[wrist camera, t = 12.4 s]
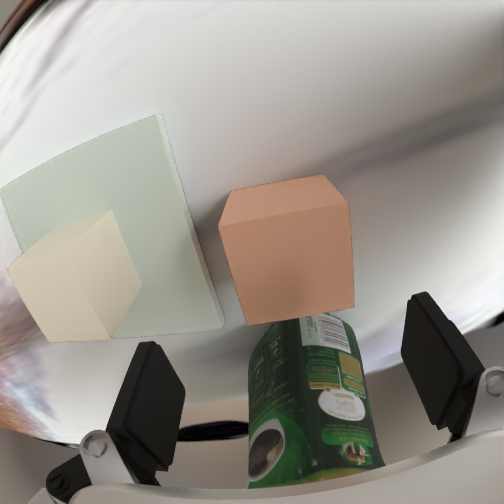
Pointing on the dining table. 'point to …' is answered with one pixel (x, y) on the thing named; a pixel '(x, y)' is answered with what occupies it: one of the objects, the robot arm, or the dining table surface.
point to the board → (127, 222)
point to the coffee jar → (308, 405)
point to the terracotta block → (289, 249)
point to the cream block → (78, 280)
